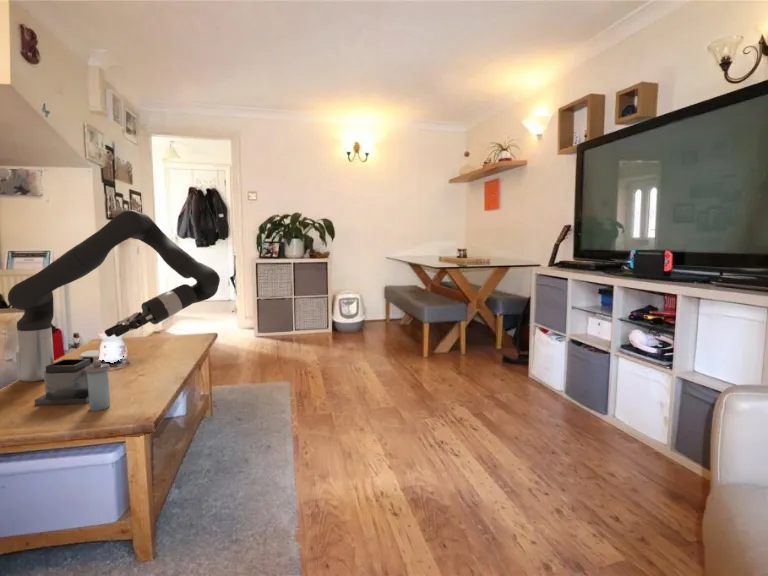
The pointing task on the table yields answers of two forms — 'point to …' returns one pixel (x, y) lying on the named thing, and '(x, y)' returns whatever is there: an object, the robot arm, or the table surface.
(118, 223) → the robot arm
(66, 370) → the dark grey holder
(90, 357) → the robot toy
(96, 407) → the grey lidded canister
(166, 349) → the table surface
